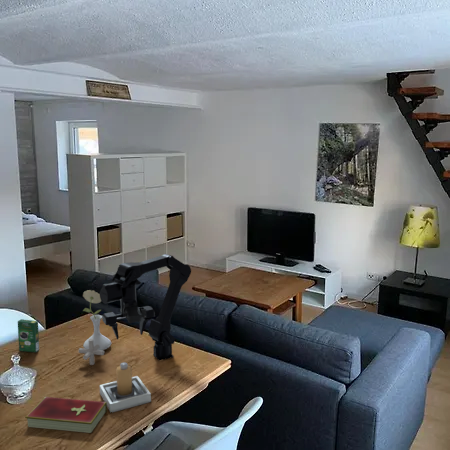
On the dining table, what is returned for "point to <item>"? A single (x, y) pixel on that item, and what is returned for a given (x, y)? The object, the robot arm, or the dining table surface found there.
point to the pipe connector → (91, 351)
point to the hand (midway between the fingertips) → (129, 336)
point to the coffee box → (28, 335)
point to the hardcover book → (67, 414)
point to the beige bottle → (124, 381)
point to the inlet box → (119, 404)
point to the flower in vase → (95, 322)
